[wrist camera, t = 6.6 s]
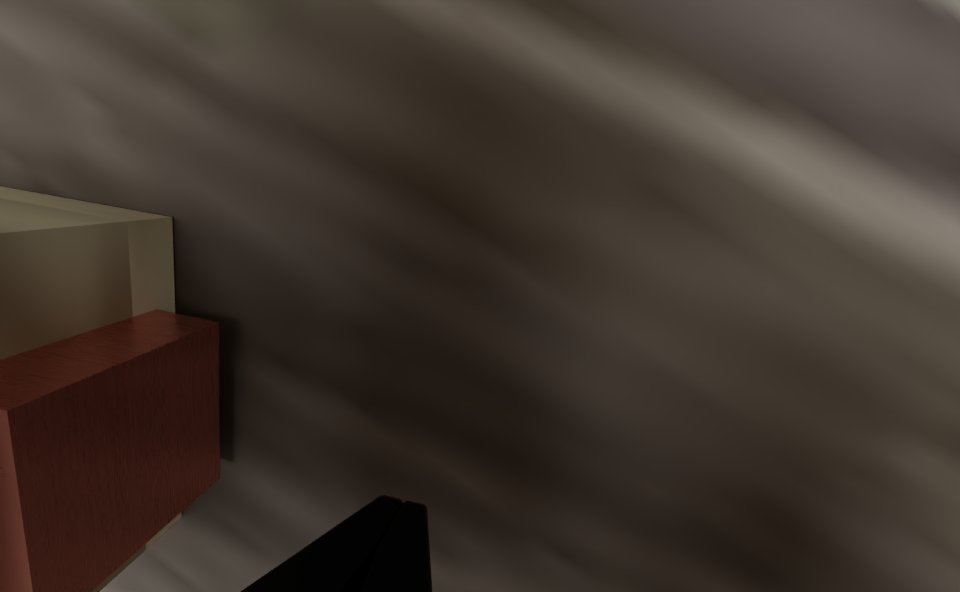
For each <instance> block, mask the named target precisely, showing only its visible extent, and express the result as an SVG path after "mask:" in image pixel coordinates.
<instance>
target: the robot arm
mask: <svg viewBox="0 0 960 592" xmlns="http://www.w3.org/2000/svg"><path fill="white" fill-rule="evenodd" d="M241 592H432V580H431V564H430V548H429V532H428V516H427V507H426V505H424V504H420V503H416V502H412V501H405V502H404V503H403V501H402V500H401V499H398V498H394V497H390V496H385V495H382V496H379V497H378V498H376V499H375V500H373V501H372V502H370V503H369V504H367V505H366V506H364V507H363V508H362V509H360V510H359V511H357V512H356V513H354V514H353V515H351V516H350V517H348V518H347V519H346V520H344V521H343V522H341V523H340V524H338V525H337V526H335V527H334V528H332V529H331V530H329V531H328V532H327V533H325V534H324V535H322V536H321V537H319V538H318V539H316V540H315V541H313V542H312V543H311V544H309V545H308V546H306V547H305V548H303V549H302V550H300V551H299V552H297V553H296V554H295V555H293V556H292V557H290V558H289V559H287V560H286V561H284V562H283V563H281V564H280V565H279V566H277V567H276V568H274V569H273V570H271V571H270V572H268V573H267V574H265V575H264V576H263V577H261V578H260V579H258V580H257V581H255V582H254V583H252V584H251V585H249V586H248V587H247V588H245V589H244V590H242V591H241Z"/></svg>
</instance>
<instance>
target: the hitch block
mask: <svg viewBox="0 0 960 592" xmlns="http://www.w3.org/2000/svg"><path fill="white" fill-rule="evenodd" d="M156 309H158V310H163V311H168V312H173V313H175V290H174V258H173V226H172V217H169V216H163V215H158V214H152V213H146V212H141V211H135V210H130V209H124V208H119V207H113V206H108V205H102V204H97V203H91V202H85V201H80V200H74V199H69V198H63V197H58V196H52V195H47V194H41V193H35V192H30V191H24V190H19V189H13V188H8V187H2V186H0V360H1V359H4V358H7V357H10V356H13V355H16V354H20V353H23V352H26V351H29V350H32V349H35V348H38V347H41V346H44V345H47V344H51V343H54V342H57V341H60V340H63V339H66V338H69V337H72V336H75V335H79V334H82V333H85V332H88V331H91V330H94V329H97V328H100V327H103V326H106V325H110V324H113V323H116V322H119V321H122V320H125V319H128V318H131V317H134V316H138V315H141V314H144V313H147V312H150V311H153V310H156ZM181 517H182V514H181V513H180V514H179V515H177V516H176V517H175V518H174V519H173V520H172V521H171V522H170V523H168V524H167V525H166V526H165V527H164V528H163V529H162V530H161V531H159V532H158V533H157V534H156V535H155V536H154V537H153V538H152V539H150V540H149V541H148V542H147V543H146V544H145V545H144V546H143V547H141V548H140V549H139V550H138V551H137V552H136V553H135V554H134V555H132V556H131V557H130V558H129V559H128V560H127V561H126V562H125V563H123V564H122V565H121V566H120V567H119V568H118V569H117V570H116V571H114V572H113V573H112V574H111V575H110V576H109V577H108V578H106V579H105V580H104V581H103V582H102V583H101V584H100V585H99V586H97V587H96V588H95V589H94V590H93V591H92V592H99V591H100V590H102V589H103V588H104V587H105V586H106V585H107V584H108V583H109V582H110V581H112V580H113V579H114V578H115V577H116V576H117V575H118V574H119V573H120V572H122V571H123V570H124V569H125V568H126V567H127V566H128V565H129V564H130V563H131V562H133V561H134V560H135V559H136V558H137V557H138V556H139V555H140V554H141V553H143V552H144V551H145V550H146V549H147V548H148V547H149V546H150V545H151V544H153V543H154V542H155V541H156V540H157V539H158V538H159V537H160V536H161V535H162V534H164V533H165V532H166V531H167V530H168V529H169V528H170V527H171V526H172V525H174V524H175V523H176V522H177V521H178V520H179V519H180V518H181Z"/></svg>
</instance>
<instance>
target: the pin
mask: <svg viewBox="0 0 960 592" xmlns="http://www.w3.org/2000/svg"><path fill="white" fill-rule="evenodd" d="M219 478H220V471H219V322H216V321H211V320H207V319H202V318H197V317H192V316H187V315H182V314H177V313H173V312H168V311H163V310H158V309H156V310H153V311H150V312H147V313H144V314H141V315H138V316H134V317H131V318H128V319H125V320H122V321H119V322H116V323H113V324H110V325H106V326H103V327H100V328H97V329H94V330H91V331H88V332H85V333H82V334H79V335H75V336H72V337H69V338H66V339H63V340H60V341H57V342H54V343H51V344H47V345H44V346H41V347H38V348H35V349H32V350H29V351H26V352H23V353H20V354H16V355H13V356H10V357H7V358H4V359H1V360H0V592H92V591H93V590H94V589H95V588H96V587H97V586H99V585H100V584H101V583H102V582H103V581H104V580H105V579H106V578H108V577H109V576H110V575H111V574H112V573H113V572H114V571H116V570H117V569H118V568H119V567H120V566H121V565H122V564H123V563H125V562H126V561H127V560H128V559H129V558H130V557H131V556H132V555H134V554H135V553H136V552H137V551H138V550H139V549H140V548H141V547H143V546H144V545H145V544H146V543H147V542H148V541H149V540H150V539H152V538H153V537H154V536H155V535H156V534H157V533H158V532H159V531H161V530H162V529H163V528H164V527H165V526H166V525H167V524H168V523H170V522H171V521H172V520H173V519H174V518H175V517H176V516H177V515H179V514H180V513H181V512H182V511H183V510H184V509H185V508H186V507H188V506H189V505H190V504H191V503H192V502H193V501H194V500H195V499H197V498H198V497H199V496H200V495H201V494H202V493H203V492H204V491H206V490H207V489H208V488H209V487H210V486H211V485H212V484H213V483H215V482H216V481H217V480H218V479H219Z"/></svg>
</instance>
